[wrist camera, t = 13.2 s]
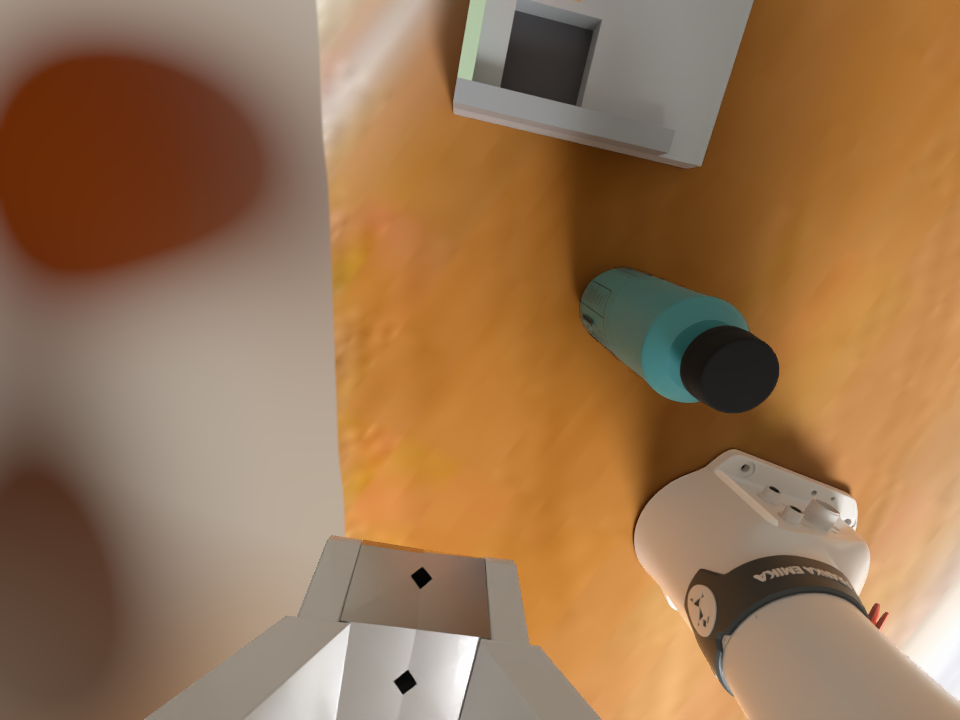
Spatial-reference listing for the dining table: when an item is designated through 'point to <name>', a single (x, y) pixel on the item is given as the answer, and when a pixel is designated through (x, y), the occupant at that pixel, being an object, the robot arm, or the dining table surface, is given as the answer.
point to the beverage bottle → (680, 340)
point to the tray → (603, 71)
